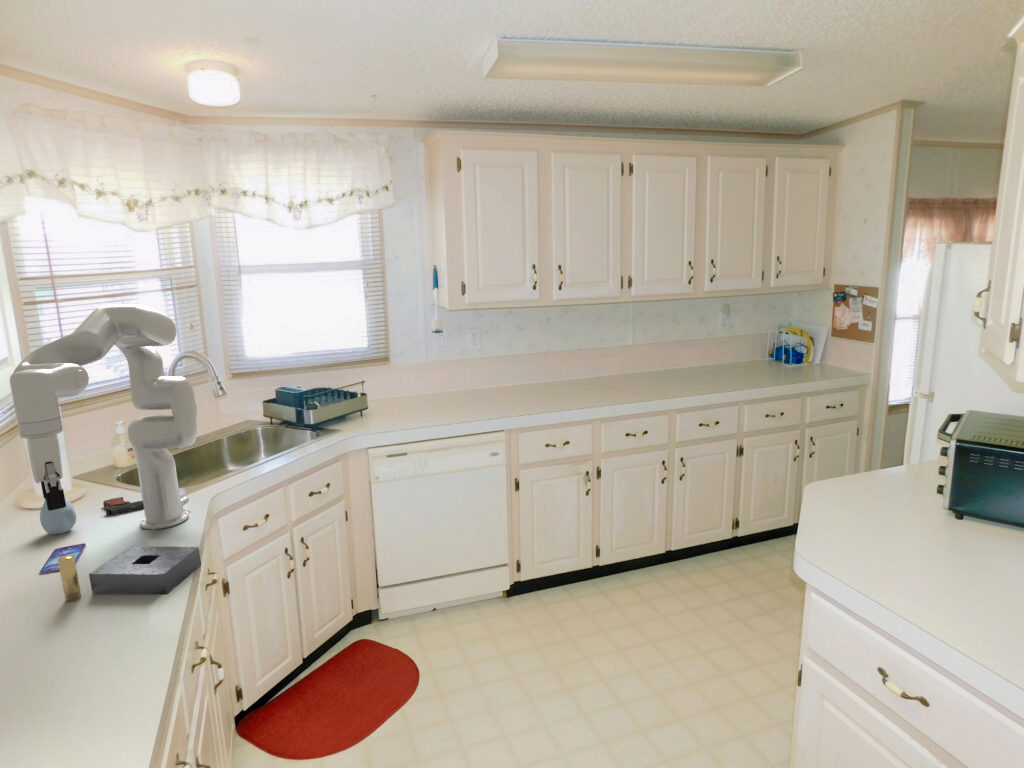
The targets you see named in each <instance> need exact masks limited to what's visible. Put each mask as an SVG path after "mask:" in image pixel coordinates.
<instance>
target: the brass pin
mask: <svg viewBox="0 0 1024 768" xmlns="http://www.w3.org/2000/svg"><path fill="white" fill-rule="evenodd" d="M58 563H59V568H60V571H59V573H60V574H59V575H60V578H61V584H62V588H63V594H64V599H65V602H66V603H72V602H73V603H74V602H76V601H79V600H80V599H81V598H82V591H81V586H80V581H79V575H78V570H77V563H76V564H75V558H74V555H65V556H62V557H60V558H58Z"/></svg>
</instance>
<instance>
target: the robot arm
mask: <svg viewBox="0 0 1024 768" xmlns="http://www.w3.org/2000/svg"><path fill="white" fill-rule="evenodd" d="M175 324H176V323H175V322H174V320H173V319H172V318H171V317H170V316H169V315H168V314H165V313H163V312H160V311H159V310H156V309H154V308H151V307H148V306H146V305H142V304H137V303H136V304H134V303H132V304H131V303H130V304H108V305H103V306H100V307H97V308H96V309H94V310H93V311H92V312H91V313H90V314H89V315H88V316H87V317H86V318H85V319H83V321H82V322H81V323H80V324H79V325H78V327H76V328H75V329H74V331H73V332H72V333H70V334H68V335H65V336H62V337H60V338H57V339H55V340H53V341H51V342H50V343H47V344H44V345H42V346H40V347H38V348H36V349H34V350H33V351H32V352H30V353H29V354H28V355H26V357H25V358H23V359H22V361H21V362H20V363H18V365H17V366H16V367H15V369H14V370H13V372H12V374H11V375H10V376H9V387H10V390H11V396H12V401H13V405H14V406H13V407H14V412H15V417H16V422H17V426H18V431H19V436H20V438H21V439H26V444H27V451H28V455H29V462H30V466H31V467H30V468H31V473H32V477H33V480H34V482H35V483H36V484H41V490H42V491H41V492H42V496H43V499H44V500H45V499H46V502H47V508H48V510H49V511H51V510H56V509H60V508H64V507H66V502H65V498H66V497H65V491H64V488H62V482H61V479H62V478H63V477H64V475H63V463H62V462H63V461H62V456H61V450H60V442H59V437H58V434H60V433H62V432H64V427H63V422H62V415H61V411H60V406H59V399H60V398H62V399H63V398H70V397H74V396H77V395H79V394H81V393H83V392H84V391H85V390H86V389H87V387H88V385H89V382H90V381H89V379H90V377H89V373H88V372H87V370H86V369H85V368H84V367H83V366H86V365H88V364H92V363H94V362H98V361H100V360H102V359H103V358H104V357H105V356H106V355H108V353H109V352H110V350H111V349H112V348H113V347H114V346H115V347H116V348H118V349H119V350H120V352H121V353H122V355H124V358H125V359H126V361H127V364H128V373H129V374H128V375H129V385H130V386H129V387H130V396H131V402H132V405H133V407H134V408H135V409H137V410H139V411H142V412H143V411H144V412H148V411H149V412H150V411H152V412H155V411H172V414H156V415H154V414H152V415H151V414H150V415H144V416H143V415H142V416H140V417H139V416H138V417H137V418H134V419H133V420H131V422H130V423H128V427H127V437H128V440H129V443H130V445H131V448H132V450H133V454H134V458H135V462H136V469H137V472H138V481H139V486H140V492H141V497H142V498H141V499H142V500H141V501H143V506H144V509H143V511H144V517H142V518H141V519H140V521H139V525H140V528H142V529H146V530H160V529H161V530H162V529H167V528H170V527H174V526H176V525H179V524H181V523H183V522H184V521H186V520H187V519H188V518H189V516H190V514H189V511H188V510H186V509H184V505H186V504H188V503H189V502H190V499H189V497H187V496H184V497H182V498H181V495H180V494H181V493H180V488H179V481H178V476H177V475H178V473H177V467H176V461H175V458H174V456H173V455H172V453H171V452H170V451H169V450H168V449H178V448H179V449H181V448H187V447H190V446H192V445H193V444H194V443H195V442H196V439H197V434H198V429H197V428H198V427H197V413H196V399H195V398H196V397H195V390H194V387H193V385H192V383H191V381H190V380H189V379H188V378H186V377H184V376H182V375H181V376H180V375H178V376H176V375H175V376H173V375H172V376H165V371H164V370H165V369H164V361H163V358H162V356H161V354H160V353H159V352H158V350H157V349H156V348H155V347H165V346H169V345H170V344H172V343H173V342H174V341H175V339H176V336H177V327H176V325H175Z"/></svg>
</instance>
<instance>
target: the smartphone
mask: <svg viewBox="0 0 1024 768" xmlns="http://www.w3.org/2000/svg"><path fill="white" fill-rule="evenodd" d="M86 547H87V545H86V543H85V542H84V543H83V542H82V543H77V544H74V545H73V544H71V545H67V546H62V547H59V548H58V547H57V548H55V549H53V551H52V552H51V554H50V555H49V557H48V558H47V560H46V561H45V563H44V564H43V565H42V568H41V569H40V570H39V574H40V575H46V574H51V573H57V572H60V568H59V563H58V558H60V557H62V556H65V555H74V558H75V564H76V565H77V564H78V562H79V560H80V559H81V556H82V554H83V552H84V550H85V549H86Z"/></svg>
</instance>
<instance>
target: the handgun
mask: <svg viewBox="0 0 1024 768" xmlns="http://www.w3.org/2000/svg"><path fill="white" fill-rule="evenodd" d="M102 503H103V504H102V505H103V508H104V509H105V513H106V516H113V515H118V514H119V513H120V514H124V512H125V513H128V512H133V511H139V510H144V506H143V500H138V501H133V502H131V501H127V500H126V501H125V500H124V497H122V496H121V497H115V498H110V499H107V500H104V501H103V502H102ZM120 514H119V515H120Z"/></svg>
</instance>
